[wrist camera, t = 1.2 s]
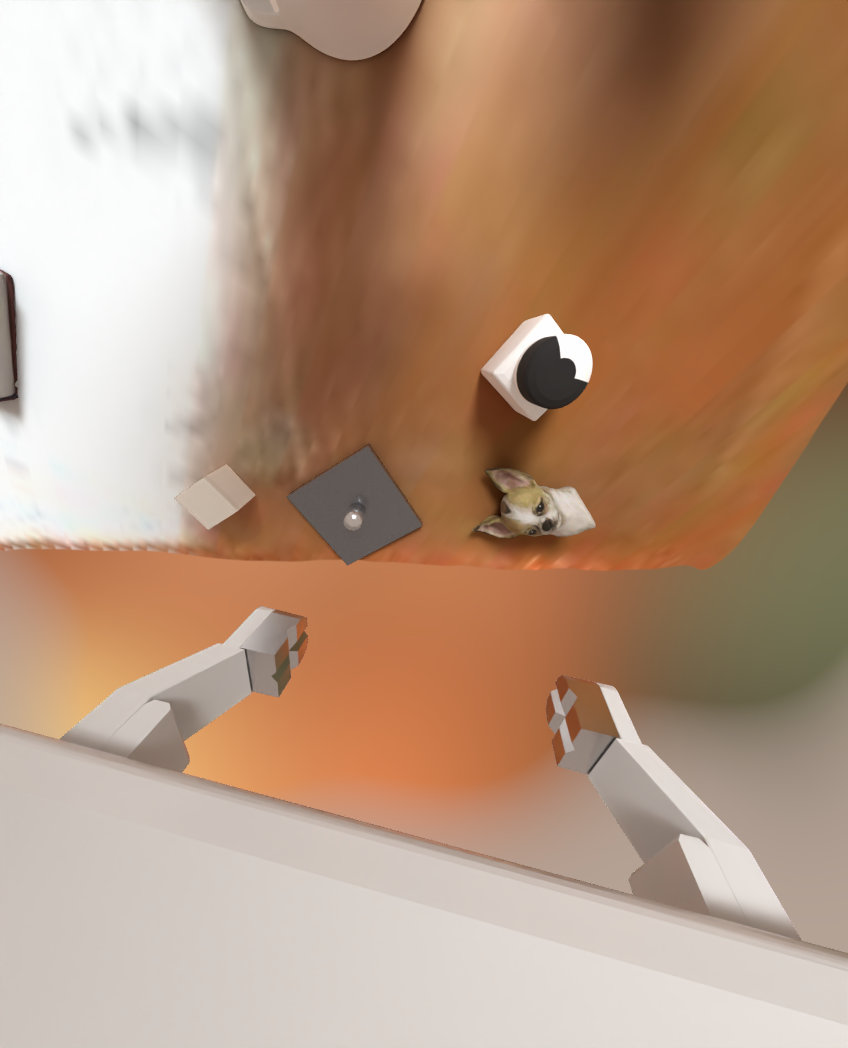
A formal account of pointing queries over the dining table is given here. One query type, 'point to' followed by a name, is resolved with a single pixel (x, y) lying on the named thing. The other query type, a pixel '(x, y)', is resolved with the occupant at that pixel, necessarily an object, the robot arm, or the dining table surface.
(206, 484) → the cream rectangular prism
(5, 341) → the book
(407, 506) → the post plate
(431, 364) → the dining table surface
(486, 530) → the ceramic sculpture
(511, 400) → the medicine bottle
